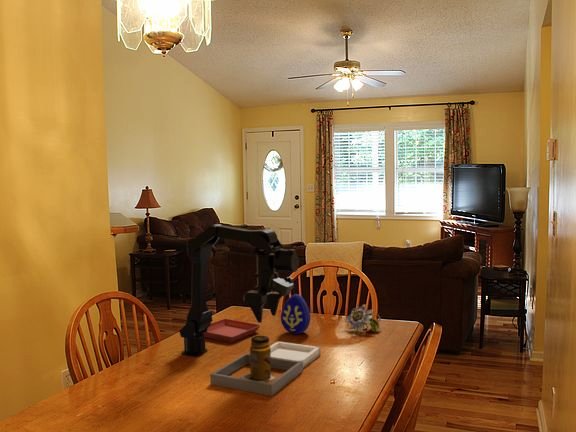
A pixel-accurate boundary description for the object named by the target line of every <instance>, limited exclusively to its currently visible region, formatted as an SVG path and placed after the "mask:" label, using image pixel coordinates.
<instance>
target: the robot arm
mask: <svg viewBox="0 0 576 432" xmlns="http://www.w3.org/2000/svg"><path fill="white" fill-rule="evenodd" d="M278 238H279V237H278V236H277V233H276V232H275V230H273V229H270V228H269V229H247V228H242V227H240V228H239V227H235V226H234V227H233V226H229V225H228V226H227V225H223V224H220V223H217V224H216V223H215V224H211V225H209V226H208V227H207V228H206V229H205V230H204V231H202V232H200V233H199V234H197V235H196V236H194V237H192V238H190V239H189V240H188V241H187V243H186V250H187V256H188V258H189V261H190V262H191V305H190V308H189V310H188V313H187V314H186V321H185V325H183V327H182V328H181V329H180V330H179V335H180V337H181V338H183V348H184V349H183V351H181V355H187V356H193V357H198V356H200V355H202V354H204V353H206V352H208V348H206V338H205V337H204V334H203V333H206V332H207V329H208V327H209V326H210V325H211V323H213V310H212V309H209V307H208V305H207V285H208V284H207V281H208V280H207V279H208V276H207V275H208V274H207V270H208V267H207V266H208V261H209V260H210V257H211V256H212V251H213V246H214V245H215V244H216V243H217V242H218V241H219V239H226V240H230V241H231V240H232V241H237V242H242V243H246V244H248V245H249V246H251V247H253V248H254V250H252V251H251V252H250V256H253V257H255V256H256V273H254V278H256V282H257V283H256V284H257V285H256V286H254V290H253V289H252V290H248V291H246V292H245V293H244V294H243V302H244V303H246V304H248V307H249V308H250V310H251V311H252V313H253V315H254V317H255V319H256V320H257V321H256V322H257V323H259V324H261V323H262V322H263V315H264V306H265V305H266V304H267V303H268V306H269V309H270V314H271V316H274V317H275V316H276V315H277V311H278V307H279V304H280V301H281V299H282V297H286V296H287V295H290V294H291V292H292V289H294V288H295V283H294V278H292V277H291V276H287V277H286V278H285V279H284V278H280V277H279V276H280V275H279V273H278V272H290V273H296V272H297V271H298V269H299V266H300V259H299V256H298V254H297V250H296V249H293V248H291V249H285V247H284V246H283V245H282V243H281V241H280V240H279V239H278ZM276 270H277V271H278V272H276Z"/></svg>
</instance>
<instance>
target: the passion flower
mask: <svg viewBox="0 0 576 432" xmlns="http://www.w3.org/2000/svg"><path fill="white" fill-rule="evenodd" d="M366 308H367V307H366V303H364V304H362V306H358V307H353V309H352V310H351V311H350V314H349V315H348V317H347V318H345V319H344V322H345V323H349V324H350V330H353V332H354V333H357V332H358V330H360V331H363V330H364V329H365V326H366V328H369V327H368V325H370V327H371V329H372V331H373V333H377V329H380V324H379V322H378V321H377V320H376V319H374V318H375V317H377V318H378V320H379V321H381V320H382V319H381V317H380V315H379V314H375V315H371V314H372V313H373V312H374V309H366Z"/></svg>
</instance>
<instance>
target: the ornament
mask: <svg viewBox="0 0 576 432" xmlns="http://www.w3.org/2000/svg"><path fill="white" fill-rule="evenodd" d="M280 314H281V315H280V322H281V326H282V327H283V328H284V330H286V332H287V333H291V334H293V335H294V334H295V335H297V334H302V333H304V332H306V330H308V328H309V326H310V325H311V324H310V323H311V312H310V308H309V306H308V304H307V302H306V300H305V299H304V297H303V296H302V295H300V294H298V293H295V294H293V295H292V294H291V296H289V297H288V299H287V300H286V301H285V302H284V305H283V308H282V310H281V313H280Z"/></svg>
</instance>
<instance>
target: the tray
mask: <svg viewBox="0 0 576 432" xmlns="http://www.w3.org/2000/svg"><path fill="white" fill-rule="evenodd" d="M269 346H270V350H271V352H270V353H271V357H275V358H281V359H287V360H294V361H300V362H303V369H304V368H305V367H307V366H308V365H309V364H310V363H312V362H313V361H314V360H315V359H317V358H318V357H319V356H321V346H314V345H306V344H299V343H293V342H287V341H285V342H284V341H279V340H278V341H276V342H274V343H273V344H271V345H269Z"/></svg>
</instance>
